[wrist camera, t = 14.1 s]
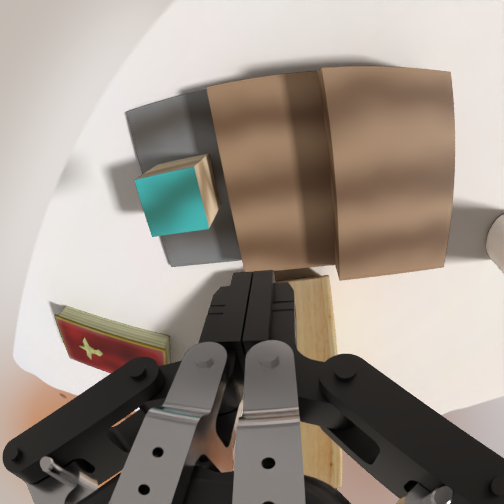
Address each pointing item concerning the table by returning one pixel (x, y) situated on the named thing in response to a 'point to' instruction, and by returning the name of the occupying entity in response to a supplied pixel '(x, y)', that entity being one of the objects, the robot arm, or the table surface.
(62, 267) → the table surface
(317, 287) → the knife block
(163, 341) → the hardcover book
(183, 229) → the maple cube
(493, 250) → the pill bottle
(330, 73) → the walnut staircase
